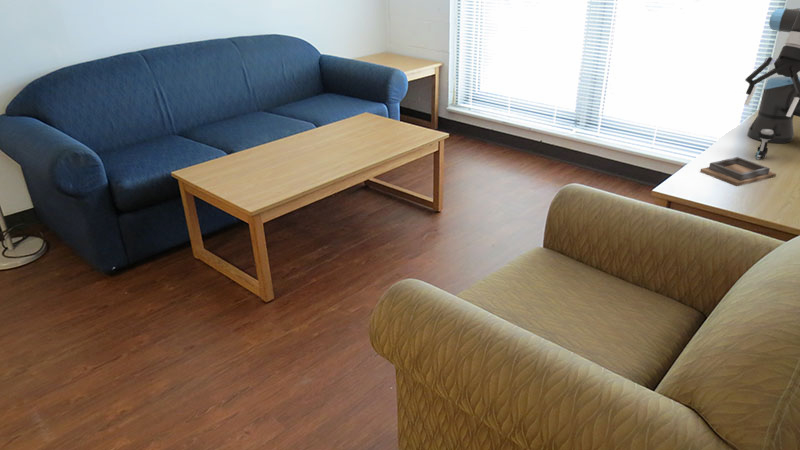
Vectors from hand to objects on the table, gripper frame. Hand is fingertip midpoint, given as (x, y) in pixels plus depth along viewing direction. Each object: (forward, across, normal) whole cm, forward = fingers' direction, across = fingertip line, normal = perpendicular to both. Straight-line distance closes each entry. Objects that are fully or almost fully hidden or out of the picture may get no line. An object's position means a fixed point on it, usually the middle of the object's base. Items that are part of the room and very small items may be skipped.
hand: (767, 110), depth 202 cm
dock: (+22, -3, -13) cm, 26 cm away
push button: (+16, +6, +5) cm, 18 cm away
